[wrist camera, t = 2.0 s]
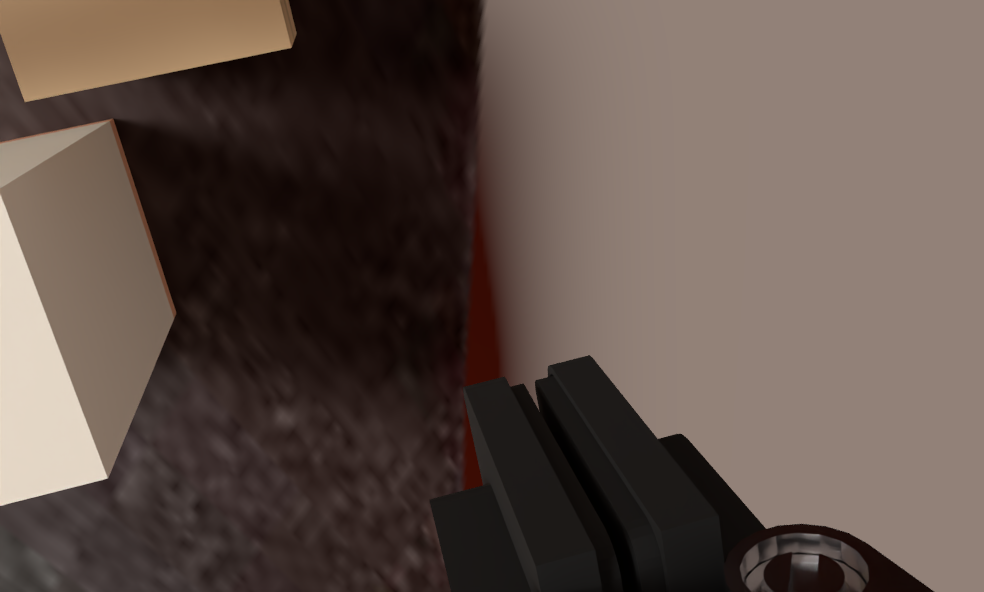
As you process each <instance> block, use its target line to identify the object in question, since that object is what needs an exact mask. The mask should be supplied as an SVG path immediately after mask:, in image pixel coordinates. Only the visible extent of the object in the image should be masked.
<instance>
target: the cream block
mask: <svg viewBox="0 0 984 592" xmlns="http://www.w3.org/2000/svg"><path fill="white" fill-rule="evenodd" d="M175 315H176V310H175V307H174V304H173V301H172V298H171V295H170V292H169V289H168V286H167V283H166V280H165V276H164V273H163V270H162V267H161V264H160V261H159V258H158V255H157V252H156V249H155V246H154V243H153V240H152V236H151V233H150V230H149V227H148V224H147V221H146V218H145V215H144V212H143V209H142V206H141V203H140V200H139V196H138V193H137V190H136V187H135V184H134V181H133V178H132V175H131V172H130V169H129V166H128V163H127V160H126V157H125V153H124V150H123V147H122V144H121V141H120V138H119V135H118V132H117V129H116V126H115V123H114V120H113V119H110V120H105V121H100V122H95V123H90V124H85V125H81V126H76V127H71V128H66V129H61V130H56V131H52V132H47V133H42V134H37V135H32V136H27V137H23V138H18V139H13V140H8V141H3V142H0V506H1V505H5V504H9V503H13V502H17V501H21V500H25V499H29V498H33V497H37V496H40V495H44V494H48V493H52V492H56V491H60V490H64V489H68V488H72V487H76V486H80V485H84V484H88V483H92V482H96V481H100V480H104V479H107V478H108V477H109V474H110V472H111V470H112V467H113V465H114V462H115V460H116V458H117V455H118V453H119V450H120V448H121V446H122V443H123V441H124V438H125V436H126V433H127V431H128V429H129V426H130V424H131V421H132V419H133V417H134V414H135V412H136V409H137V407H138V405H139V402H140V400H141V397H142V395H143V392H144V390H145V388H146V385H147V383H148V380H149V378H150V376H151V373H152V371H153V368H154V366H155V364H156V361H157V359H158V356H159V354H160V352H161V349H162V347H163V344H164V342H165V339H166V337H167V335H168V332H169V330H170V327H171V325H172V323H173V320H174V318H175Z"/></svg>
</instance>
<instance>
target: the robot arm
mask: <svg viewBox="0 0 984 592" xmlns="http://www.w3.org/2000/svg"><path fill="white" fill-rule="evenodd" d="M535 388H536V395H537V400H538V405H539V410H538V408H537V406H536V405H535V403H534V401H533V399H532V398H531V396H530V394H529V392H528V390H527V389H526V387H525V385H524V384H520V385H516V386H512V387H510V386H509V384H508V382H507V380H506V378H505V377H502V378H498V379H494V380H490V381H486V382H482V383H478V384H474V385H470V386H466V387H463V392H464V398H465V403H466V408H467V412H468V417H469V421H470V426H471V431H472V435H473V440H474V444H475V449H476V453H477V458H478V462H479V467H480V472H481V477H482V481H483V486H480V487H476V488H472V489H468V490H464V491H461V492H457V493H453V494H449V495H446V496H442V497H438V498H434V499H430V504H431V508H432V512H433V517H434V521H435V525H436V529H437V533H438V538H439V542H440V546H441V550H442V554H443V559H444V563H445V567H446V571H447V575H448V580H449V584H450V588H451V592H934V591H933V590H931V589H930V588H929V587H927V586H926V585H924V584H923V583H922V582H920V581H919V580H917V579H916V578H915V577H913V576H912V575H910V574H909V573H908V572H906V571H905V570H904V569H902V568H901V567H899V566H898V565H897V564H895V563H894V562H892V561H891V560H890V559H888V558H887V557H885V556H884V555H882V554H881V553H880V552H879V551H877V550H876V549H874V548H873V547H872V546H870V545H869V544H867V543H866V542H864V541H862V540H860V539H858V538H856V537H855V536H853V535H851V534H849V533H847V532H844V531H840V530H837V529H833V528H830V527H826V526H818V525H808V524H793V525H780V526H775V527H772V528H768V529H766V528H765V527H764V526H763V525H762V524H761V523H760V521H759V520H758V519H757V518H756V517H755V516H754V514H752V512H751V511H750V510H749V509H748V508H747V506H745V504H744V503H743V502H742V501H741V500H740V498H739V497H738V496H737V495H736V494H735V493H734V492H733V490H732V489H731V488H730V487H729V486H728V485H727V483H726V482H725V481H724V480H723V479H722V478H721V477H720V476H719V474H718V473H717V472H716V471H715V470H714V469H713V467H712V466H711V465H710V464H709V463H708V462H707V461H706V459H705V458H704V457H703V456H702V455H701V454H700V453H699V452H698V450H697V449H696V448H695V447H694V446H693V444H692V443H691V442H690V441H689V440H688V439H687V438H686V437H684V435H682V434H675V435H672V436H668V437H664V438H661V439H657V438H656V436H655V435H654V434H653V433H652V431H651V430H650V429H649V428H648V427H647V425H646V424H645V423H644V421H643V420H642V419H641V418H640V416H639V415H638V414H637V413H636V412H635V410H634V409H633V408H632V406H631V405H630V404H629V403H628V402H627V400H626V399H625V398H624V397H623V395H622V394H621V393H620V392H619V390H618V389H617V388H616V387H615V385H614V384H613V383H612V382H611V380H610V379H609V378H608V377H607V375H606V374H605V373H604V372H603V370H602V369H601V368H600V367H599V365H598V364H597V363H596V362H595V360H594V359H593V358H592V357H591V356H590V355H589V356H585V357H581V358H577V359H573V360H569V361H566V362H562V363H557V364H554V365H550V366H548V377H547V378H543V379H539V380H536V381H535ZM539 411H540V412H539Z"/></svg>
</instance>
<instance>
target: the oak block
mask: <svg viewBox="0 0 984 592" xmlns="http://www.w3.org/2000/svg"><path fill="white" fill-rule="evenodd" d="M0 34H1V36H2V39H3V42H4V45H5V48H6V50H7V53H8V56H9V59H10V62H11V64H12V67H13V70H14V73H15V76H16V78H17V81H18V84H19V87H20V90H21V92H22V95H23V98H24V101H25V102H27V101H32V100H37V99H42V98H47V97H52V96H57V95H62V94H67V93H72V92H76V91H81V90H86V89H91V88H96V87H101V86H106V85H111V84H116V83H121V82H126V81H131V80H136V79H141V78H145V77H150V76H155V75H160V74H165V73H170V72H175V71H180V70H185V69H190V68H195V67H200V66H205V65H210V64H214V63H219V62H224V61H229V60H234V59H239V58H244V57H249V56H254V55H259V54H264V53H269V52H274V51H279V50H283V49H288V48H292V45H293V42H294V39H295V37H296V34H297V33H296V29H295V25H294V21H293V17H292V12H291V8H290V4H289V0H0Z"/></svg>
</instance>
